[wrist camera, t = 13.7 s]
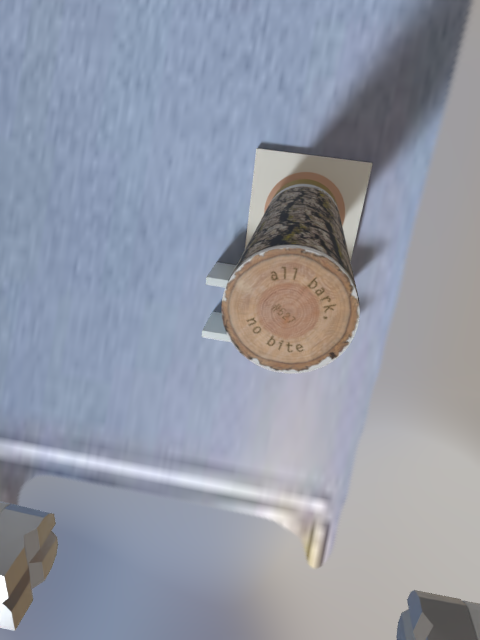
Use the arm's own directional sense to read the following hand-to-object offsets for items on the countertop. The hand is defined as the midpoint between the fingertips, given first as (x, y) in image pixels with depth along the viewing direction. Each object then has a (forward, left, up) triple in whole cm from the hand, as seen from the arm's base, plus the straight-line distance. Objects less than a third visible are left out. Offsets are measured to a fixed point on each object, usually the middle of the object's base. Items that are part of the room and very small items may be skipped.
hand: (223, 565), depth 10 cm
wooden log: (0, +1, -39) cm, 39 cm away
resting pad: (0, +1, -39) cm, 39 cm away
